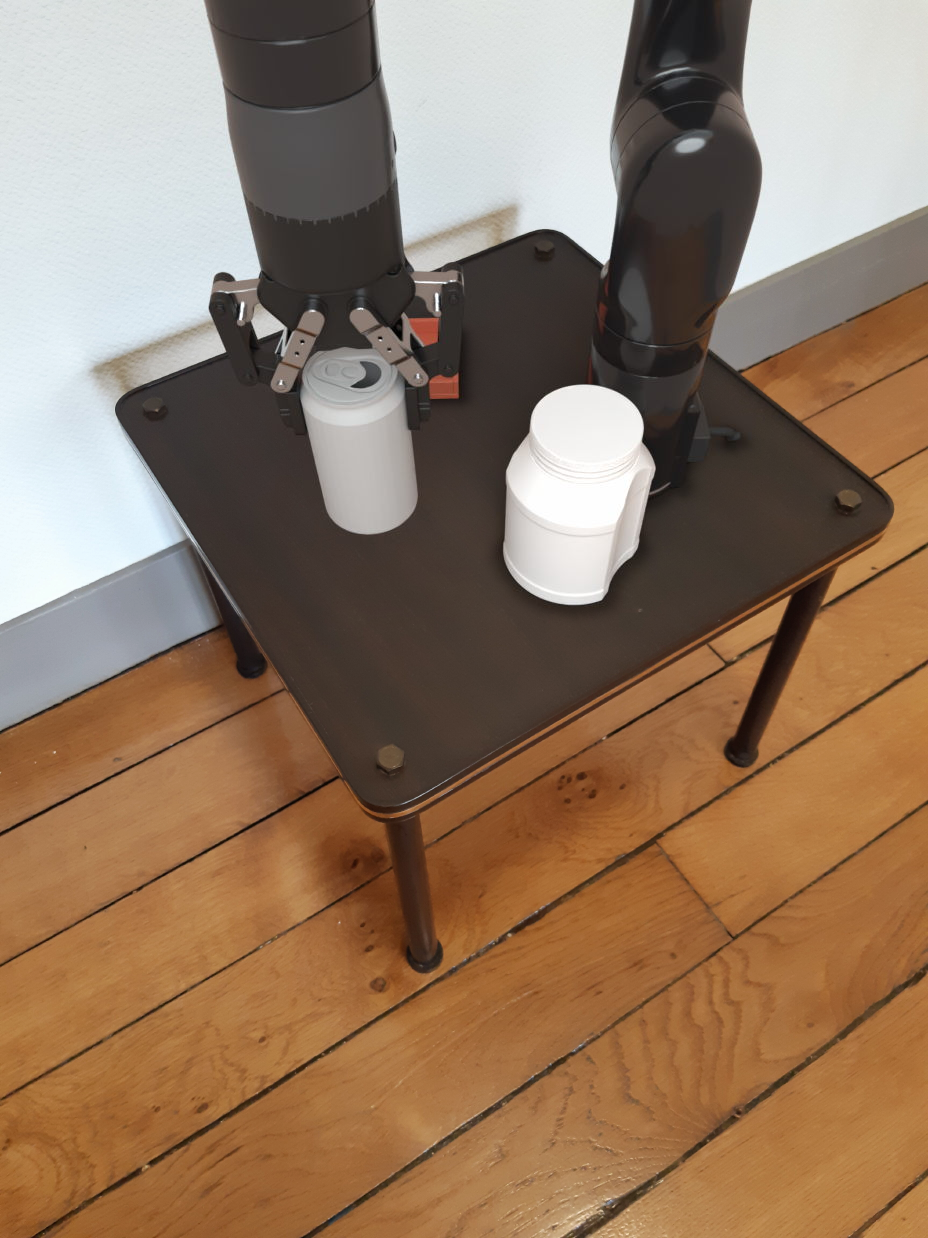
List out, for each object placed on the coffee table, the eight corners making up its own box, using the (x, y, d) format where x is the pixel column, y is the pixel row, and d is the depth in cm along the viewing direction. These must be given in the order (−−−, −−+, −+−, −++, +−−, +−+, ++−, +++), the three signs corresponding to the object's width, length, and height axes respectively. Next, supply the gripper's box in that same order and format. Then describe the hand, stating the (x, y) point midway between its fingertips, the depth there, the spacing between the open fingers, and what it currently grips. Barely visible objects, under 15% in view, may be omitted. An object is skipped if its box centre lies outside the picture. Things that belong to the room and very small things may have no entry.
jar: (555, 486, 85) (568, 354, 73) (650, 530, 82) (681, 400, 70) (487, 572, 80) (489, 445, 67) (586, 622, 77) (608, 499, 64)
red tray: (457, 333, 97) (456, 316, 95) (458, 398, 92) (458, 381, 90) (363, 335, 97) (361, 318, 95) (360, 400, 92) (357, 384, 90)
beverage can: (407, 547, 63) (391, 413, 53) (315, 534, 64) (282, 401, 54) (427, 477, 66) (415, 340, 57) (339, 466, 67) (312, 329, 57)
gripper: (156, 220, 43) (238, 473, 57) (470, 205, 43) (476, 462, 57) (178, 132, 47) (250, 387, 61) (464, 119, 47) (471, 377, 61)
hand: (359, 422), depth 59 cm, fingers closed on beverage can, 6 cm apart
